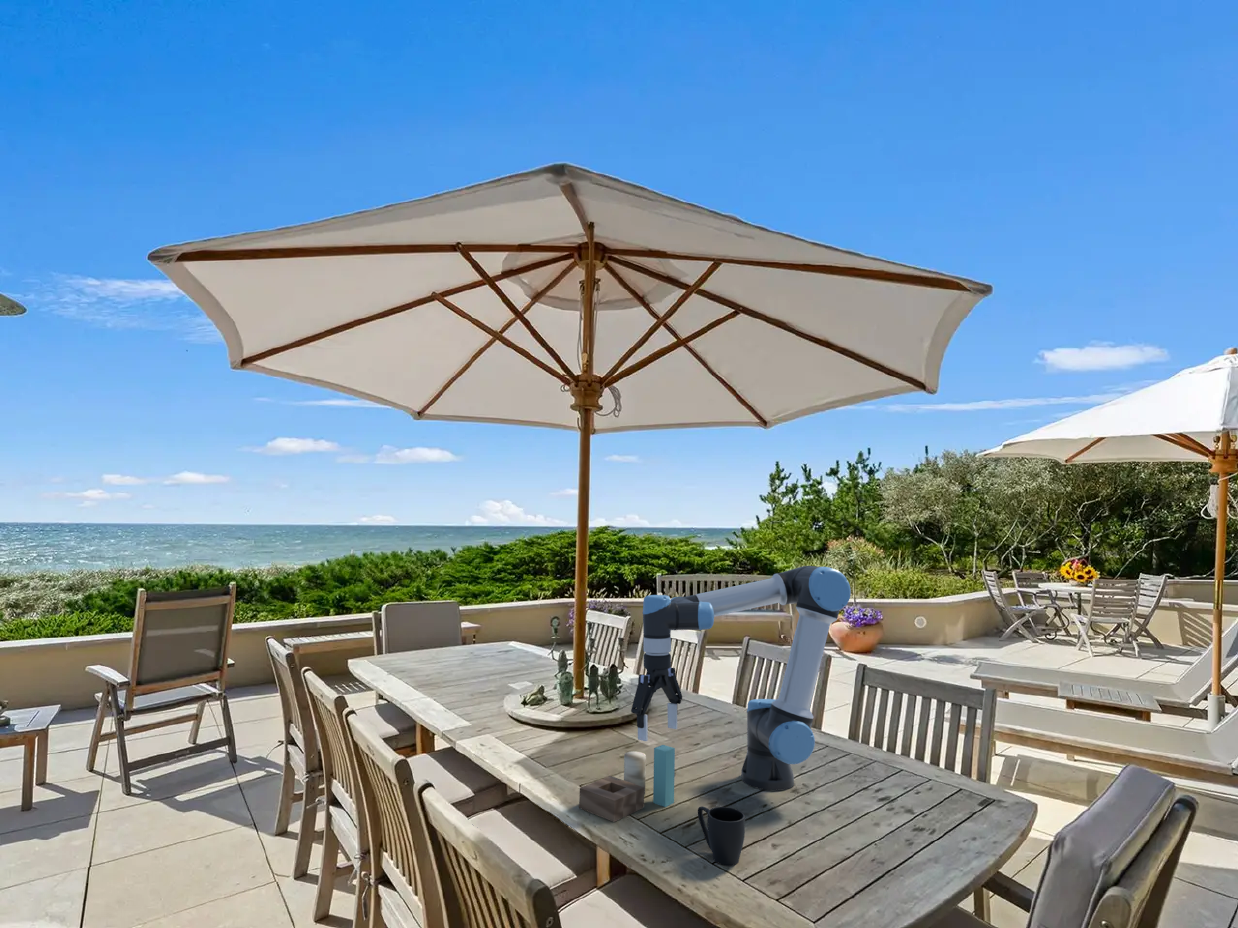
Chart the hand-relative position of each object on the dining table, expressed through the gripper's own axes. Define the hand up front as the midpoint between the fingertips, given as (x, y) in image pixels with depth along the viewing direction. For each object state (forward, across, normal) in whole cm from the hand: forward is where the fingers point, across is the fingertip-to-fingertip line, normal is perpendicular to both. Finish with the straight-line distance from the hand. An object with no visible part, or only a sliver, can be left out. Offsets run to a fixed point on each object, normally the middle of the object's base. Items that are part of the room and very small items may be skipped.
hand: (658, 733), depth 172 cm
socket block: (+17, +11, -8) cm, 22 cm away
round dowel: (+18, -1, -9) cm, 20 cm away
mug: (+18, +14, +27) cm, 35 cm away
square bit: (+18, -1, +1) cm, 18 cm away
